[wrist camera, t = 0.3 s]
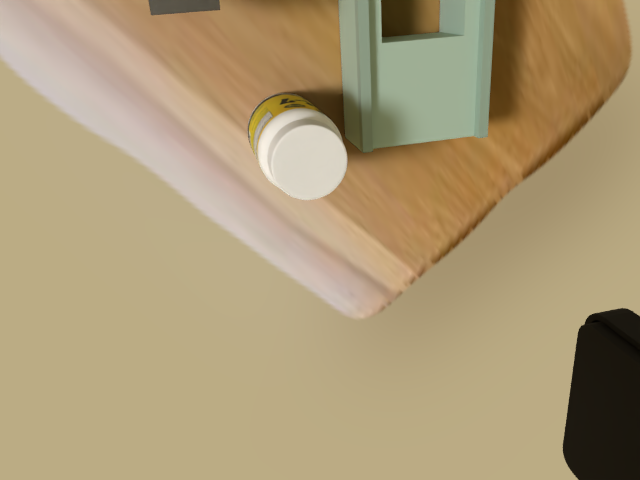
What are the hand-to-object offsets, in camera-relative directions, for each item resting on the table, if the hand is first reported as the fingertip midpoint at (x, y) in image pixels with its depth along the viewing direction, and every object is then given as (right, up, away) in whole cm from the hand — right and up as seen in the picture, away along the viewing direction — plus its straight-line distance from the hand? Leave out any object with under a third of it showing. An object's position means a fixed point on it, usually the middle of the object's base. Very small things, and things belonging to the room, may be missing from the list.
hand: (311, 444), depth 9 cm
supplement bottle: (-2, +10, +27) cm, 29 cm away
